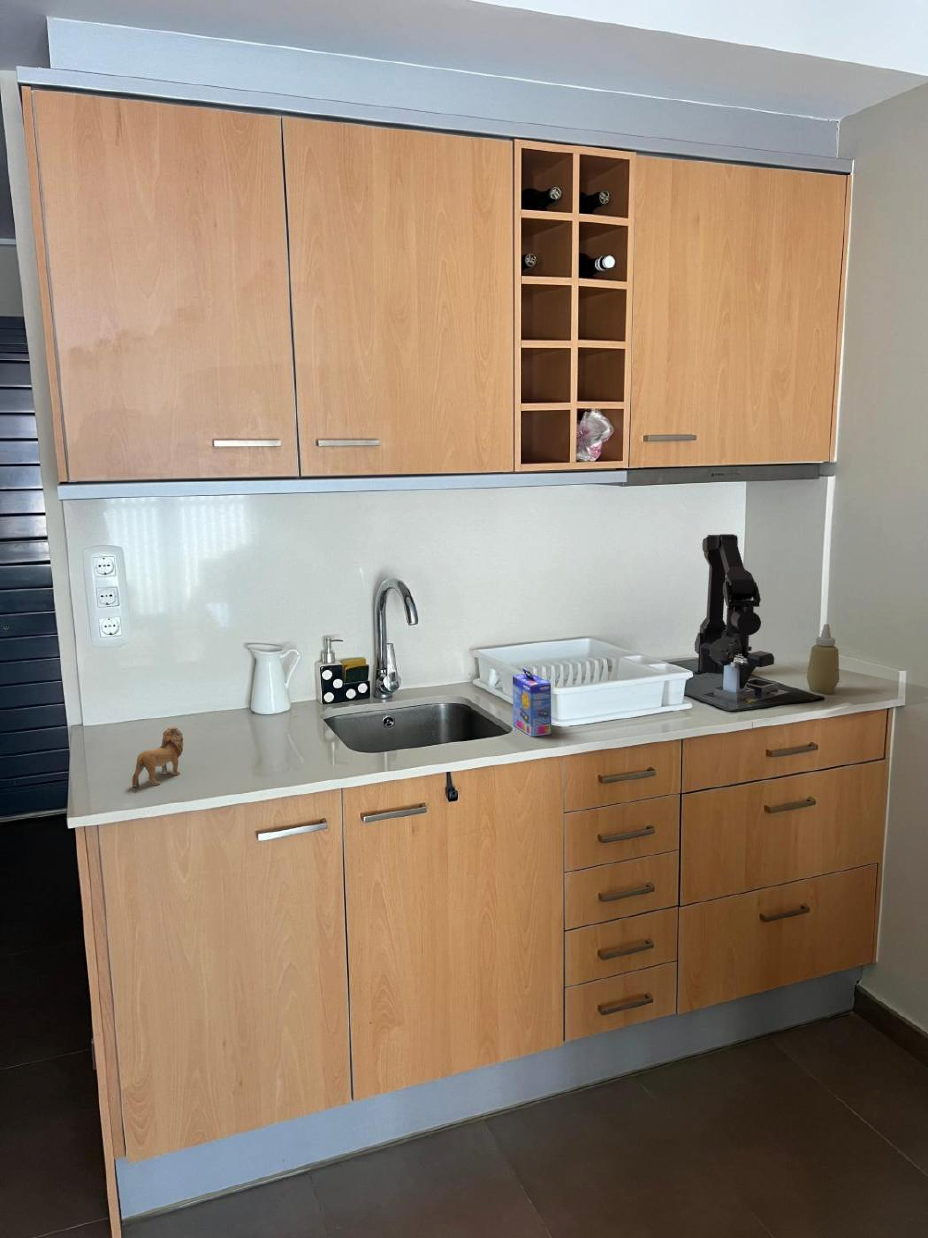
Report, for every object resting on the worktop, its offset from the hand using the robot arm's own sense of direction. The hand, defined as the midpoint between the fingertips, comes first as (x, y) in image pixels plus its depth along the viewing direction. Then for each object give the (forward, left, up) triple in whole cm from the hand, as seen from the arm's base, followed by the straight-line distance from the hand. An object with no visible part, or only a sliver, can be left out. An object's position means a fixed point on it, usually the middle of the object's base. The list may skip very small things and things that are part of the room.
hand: (734, 686), depth 239 cm
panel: (0, +5, -4) cm, 6 cm away
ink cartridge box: (-13, -57, -4) cm, 59 cm away
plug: (0, 0, -2) cm, 2 cm away
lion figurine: (-35, -136, -4) cm, 140 cm away
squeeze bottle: (+9, +25, -4) cm, 27 cm away
